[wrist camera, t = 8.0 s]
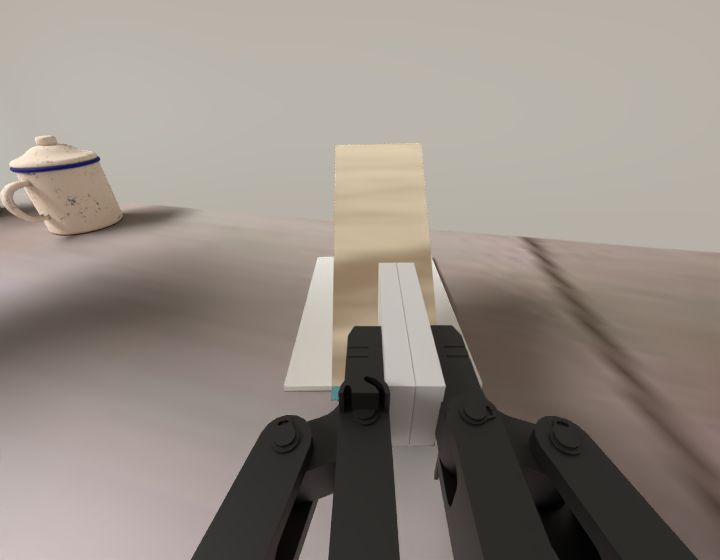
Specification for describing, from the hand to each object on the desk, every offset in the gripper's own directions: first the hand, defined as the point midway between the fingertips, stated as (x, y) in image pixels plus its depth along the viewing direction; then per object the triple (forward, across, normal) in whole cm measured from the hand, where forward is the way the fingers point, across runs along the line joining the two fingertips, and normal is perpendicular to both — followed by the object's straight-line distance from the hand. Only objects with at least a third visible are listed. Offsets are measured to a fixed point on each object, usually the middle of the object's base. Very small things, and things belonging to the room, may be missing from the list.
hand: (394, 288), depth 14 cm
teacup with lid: (+29, -42, -9) cm, 52 cm away
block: (-1, 0, -6) cm, 6 cm away
